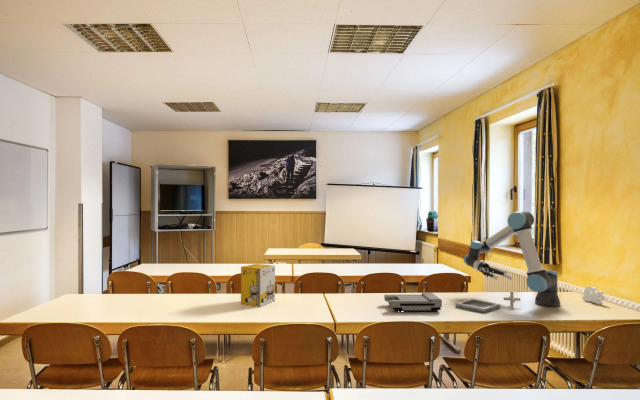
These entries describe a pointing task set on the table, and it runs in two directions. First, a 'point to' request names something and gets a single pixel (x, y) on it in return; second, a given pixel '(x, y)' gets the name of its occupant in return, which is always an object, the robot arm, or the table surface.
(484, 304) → the carrier plate
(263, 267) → the packaging box
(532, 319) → the table surface
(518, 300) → the pipe connector
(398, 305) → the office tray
